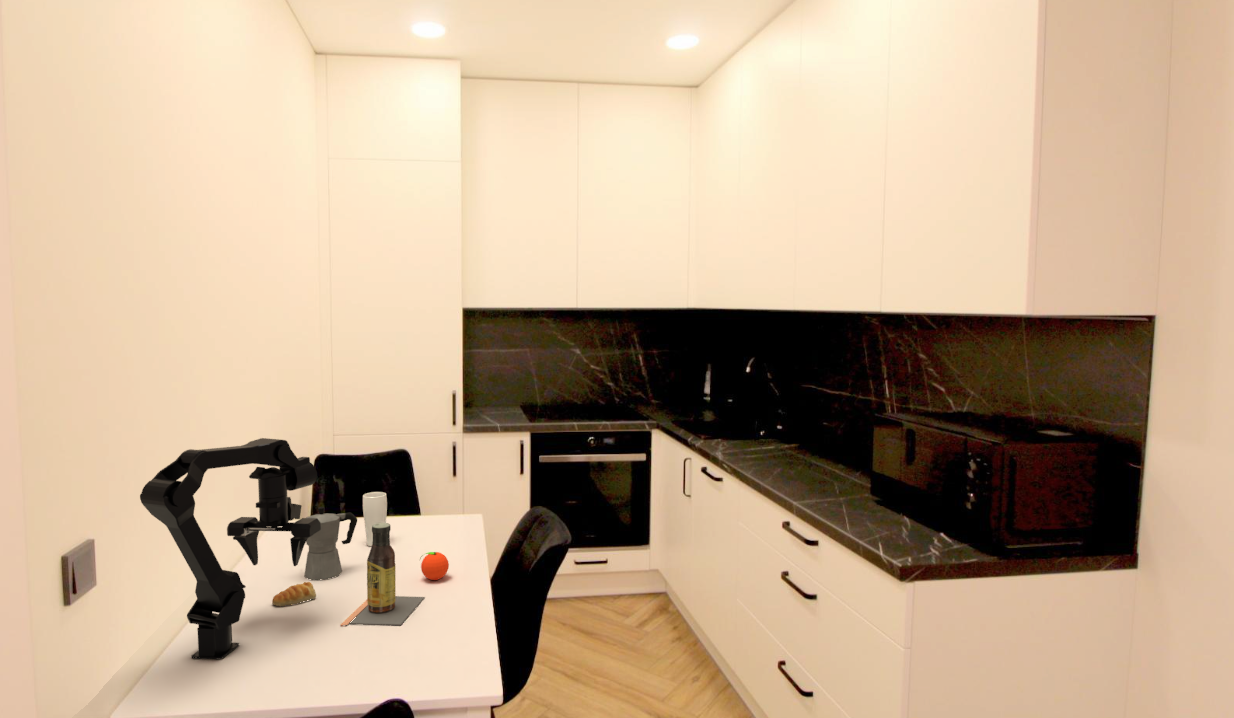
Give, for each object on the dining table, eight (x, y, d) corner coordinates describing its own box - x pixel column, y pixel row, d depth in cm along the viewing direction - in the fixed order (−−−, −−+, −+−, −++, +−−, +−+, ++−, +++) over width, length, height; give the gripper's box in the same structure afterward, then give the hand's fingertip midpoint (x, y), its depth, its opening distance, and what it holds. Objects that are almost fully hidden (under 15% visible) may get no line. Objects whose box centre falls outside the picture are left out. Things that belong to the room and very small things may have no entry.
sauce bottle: (363, 608, 176) (360, 523, 175) (388, 601, 180) (386, 518, 179) (374, 617, 171) (372, 530, 170) (401, 609, 175) (399, 524, 174)
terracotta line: (346, 626, 167) (346, 624, 167) (340, 626, 167) (340, 624, 167) (390, 583, 193) (390, 582, 193) (385, 583, 193) (384, 582, 193)
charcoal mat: (400, 625, 167) (400, 624, 167) (349, 624, 168) (349, 623, 168) (424, 598, 183) (424, 596, 183) (377, 597, 184) (377, 595, 184)
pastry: (280, 611, 176) (279, 595, 176) (267, 604, 181) (266, 588, 180) (318, 599, 183) (318, 584, 183) (305, 593, 188) (304, 577, 187)
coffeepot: (297, 584, 193) (295, 514, 191) (295, 573, 201) (292, 505, 200) (361, 574, 199) (359, 507, 198) (356, 564, 208) (354, 499, 207)
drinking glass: (362, 543, 227) (361, 493, 226) (386, 540, 229) (384, 490, 228) (365, 549, 220) (363, 498, 219) (389, 546, 223) (388, 495, 222)
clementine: (412, 582, 194) (411, 554, 193) (426, 573, 201) (426, 546, 200) (440, 585, 192) (439, 557, 191) (454, 575, 198) (453, 549, 198)
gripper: (330, 487, 175) (332, 554, 176) (252, 486, 176) (255, 552, 177) (307, 499, 164) (309, 570, 165) (224, 498, 165) (227, 569, 166)
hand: (275, 565), depth 168 cm, fingers open, 9 cm apart
